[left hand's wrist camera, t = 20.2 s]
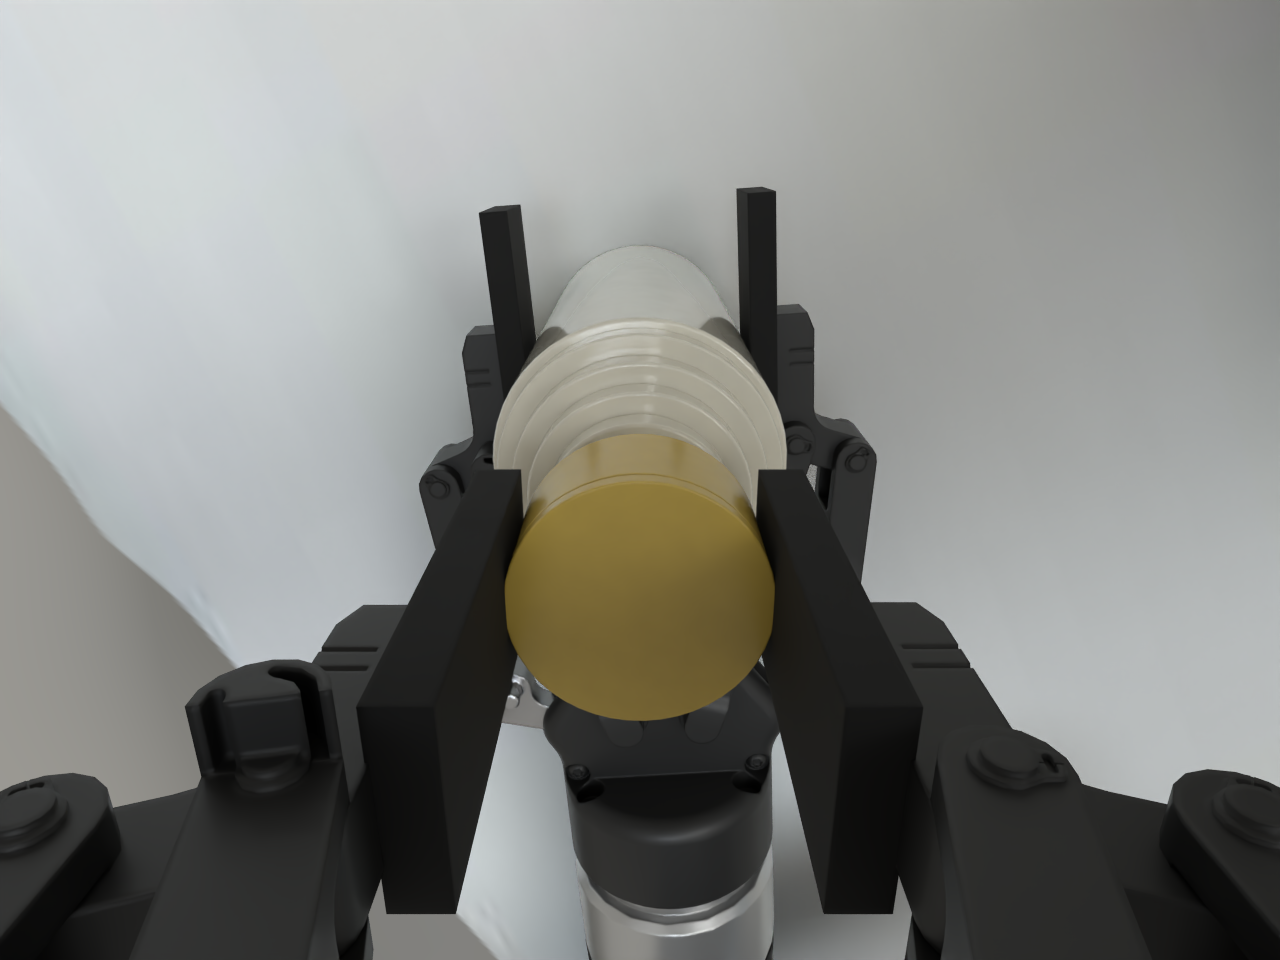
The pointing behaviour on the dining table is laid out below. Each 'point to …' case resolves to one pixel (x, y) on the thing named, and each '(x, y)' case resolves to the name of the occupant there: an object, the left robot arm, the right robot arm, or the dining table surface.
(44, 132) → the dining table surface
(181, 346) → the dining table surface
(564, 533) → the cap
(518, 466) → the bottle
